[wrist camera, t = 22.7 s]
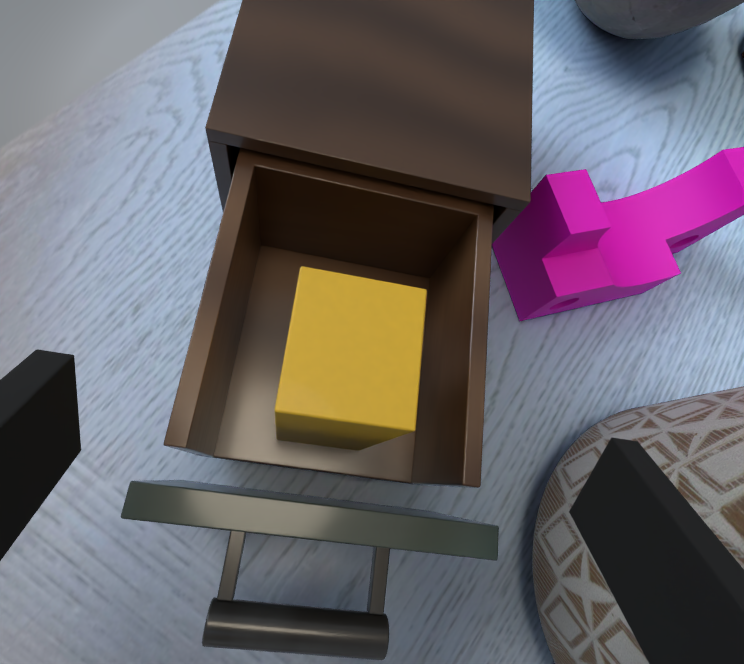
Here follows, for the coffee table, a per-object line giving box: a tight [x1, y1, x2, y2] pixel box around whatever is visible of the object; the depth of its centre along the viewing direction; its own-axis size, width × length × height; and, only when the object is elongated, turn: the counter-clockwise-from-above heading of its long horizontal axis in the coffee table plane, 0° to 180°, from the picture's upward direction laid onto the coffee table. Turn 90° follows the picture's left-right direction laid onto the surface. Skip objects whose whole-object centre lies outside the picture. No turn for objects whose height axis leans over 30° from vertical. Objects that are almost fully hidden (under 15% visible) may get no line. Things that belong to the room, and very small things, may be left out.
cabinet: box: [205, 0, 534, 244], centre depth 28 cm, size 17×15×11 cm
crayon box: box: [275, 266, 427, 451], centre depth 21 cm, size 4×5×11 cm
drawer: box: [121, 148, 499, 660], centre depth 22 cm, size 20×13×9 cm
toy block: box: [492, 147, 744, 321], centre depth 31 cm, size 15×6×8 cm, turn 106°
